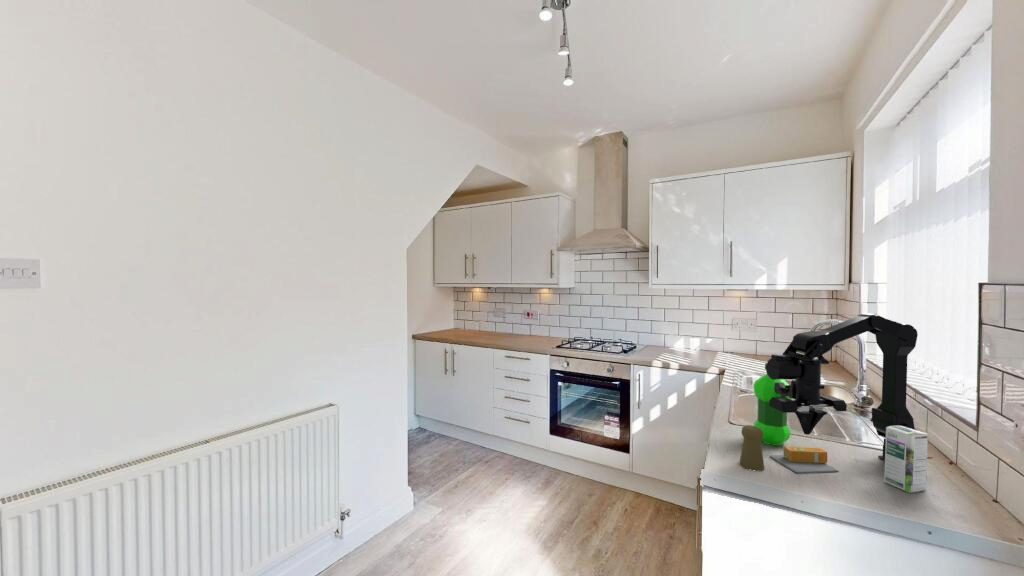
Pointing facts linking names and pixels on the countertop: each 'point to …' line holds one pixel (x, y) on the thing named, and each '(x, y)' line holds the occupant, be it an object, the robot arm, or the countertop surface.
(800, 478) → the countertop surface
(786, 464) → the rubber mat
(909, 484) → the syrup box
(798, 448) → the supplement box
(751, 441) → the cork
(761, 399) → the plastic bottle
